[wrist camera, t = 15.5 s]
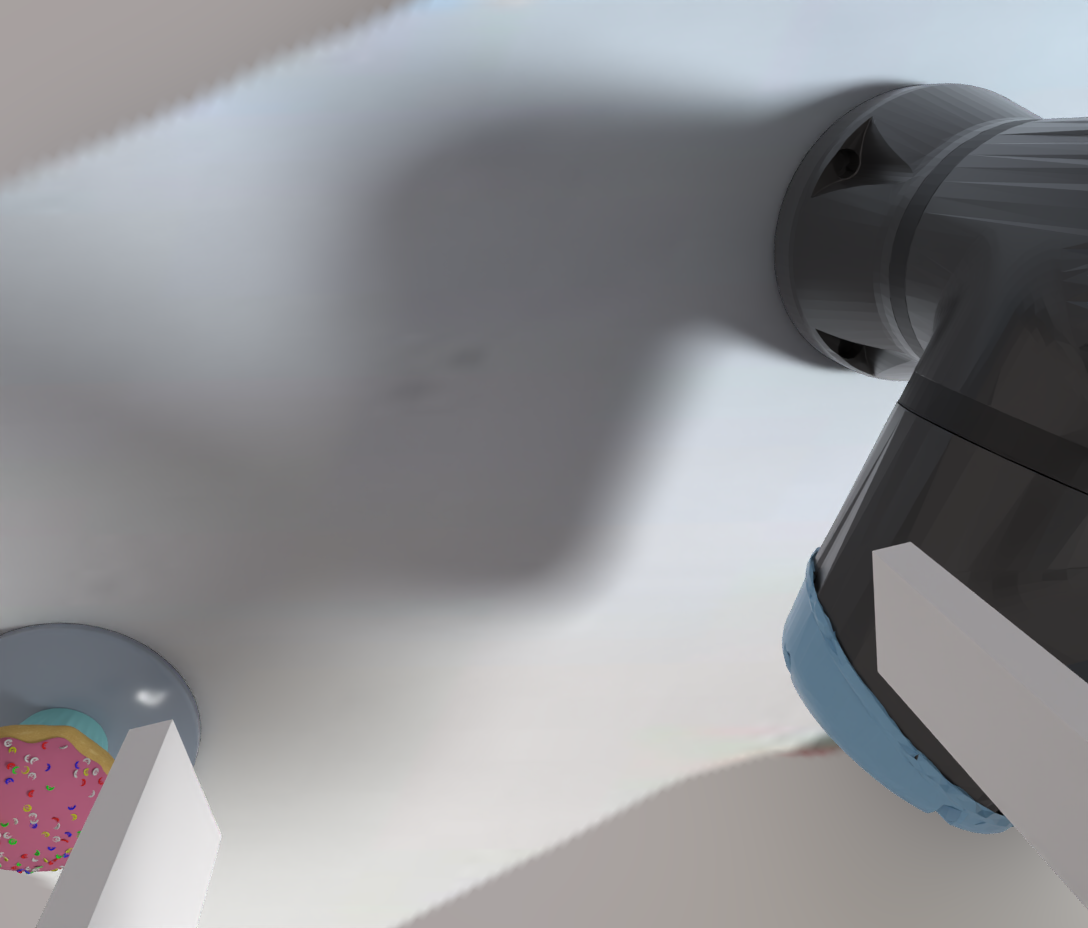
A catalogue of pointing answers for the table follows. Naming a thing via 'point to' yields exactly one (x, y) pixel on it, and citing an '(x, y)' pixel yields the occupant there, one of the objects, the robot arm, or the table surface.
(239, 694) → the table surface
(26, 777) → the cupcake
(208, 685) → the table surface
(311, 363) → the table surface
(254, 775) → the table surface
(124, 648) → the slate plate
